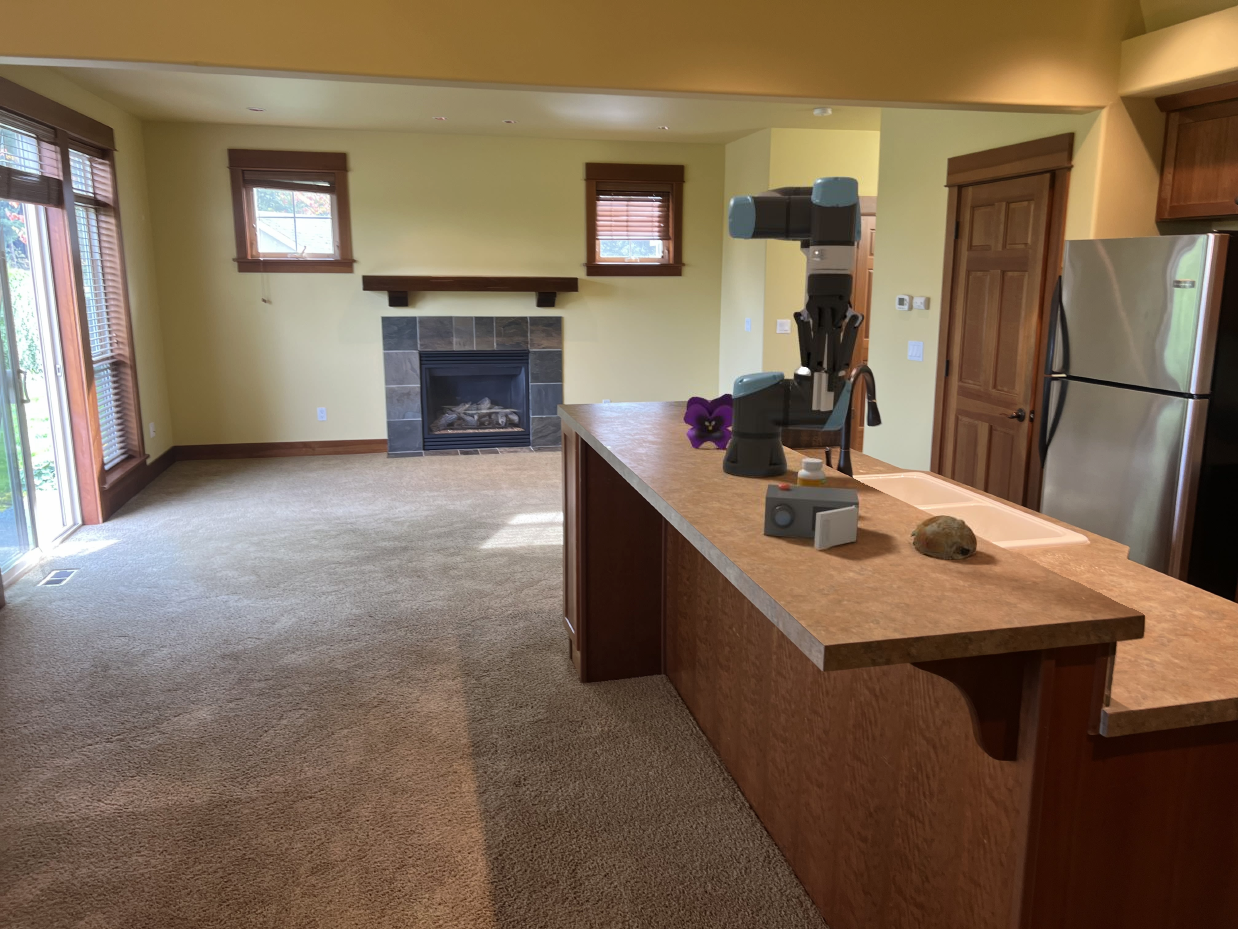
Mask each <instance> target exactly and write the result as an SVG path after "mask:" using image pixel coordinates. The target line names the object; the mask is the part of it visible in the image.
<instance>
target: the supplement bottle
mask: <svg viewBox="0 0 1238 929" xmlns="http://www.w3.org/2000/svg"><path fill="white" fill-rule="evenodd" d="M823 462H824V461H823V459H818V458H812V457H811V458H810V457H809V458H803V459H802V461H801V466H802V469H800V470H799V471H798V473H797V485H796V486H805V487H822V488H826V478H827V477H826V473H825V471H823V470H822V469H823V467H824V466H823V465H824V463H823Z"/></svg>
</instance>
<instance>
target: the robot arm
mask: <svg viewBox="0 0 1238 929" xmlns="http://www.w3.org/2000/svg"><path fill="white" fill-rule="evenodd" d="M860 202H861V201H860V196H859V182H858V180H857V179H856V178H854V177H849V176H825V177H819V178H817V179H816V180H814V182H813V185H812V186H782V187H778V188H773V189H772V188H771V189H769V190H766V191H761V192H759V193H757V194H755V195H742V196H741V195H739V196H733V197H732V198H731V199H730V200H729V205H728V215H727V216H728V220H727V221H728V226H727V227H728V228H727V229H728V234H729V236H730V238H732V239H742V240H766V239H767V240H768V239H769V240H771V239H772V240H777V241H787V242H800V245H799V246H800V247H799V248H800V249H799V250H800V252H802V253H803V255H804V256H805V257H806V261H805V262H806V263H805V264H806V265H805V266H806V267H805V283H804V298H803V299H804V302H803V304H804V305H803V309H801V310H800V311H795V312H794V313H793V319H794V321H795V324H796V327H797V336H798V345H799V355H800V364H799V365H798V366H797V368H795V369H794V370H793V378H786V377H785V376H786V375H785V373H784V371H783V372H782V371H765V372H756V373H755V372H754V373H750V374H749V373H748V374H744V375H743V374H742V375H740V376H738V377H737V378H736V379H734V382H733V388H732V390H733V391H732V398H733V409H732V426H731V439H730V440H729V442H728V444H727V447H726V448H727V449H726V451H725V454H724V456H723V459H722V471H723V472H725V473H727V474H729V475H730V474H731V475H735V476H738V477H739V476H741V477H750V478H770V477H771V478H772V477H779V476H783V475H785V474H787V472H788V461H787V458H786V454H785V451H784V447H783V442H782V429H785V430H786V429H787V430H788V429H789V430H791V429H792V430H814V431H815V430H816V431H821V432H823V431H837V430H840V429H841V428H843V426H844V424H845V421H846V417H847V413H848V409H849V404H850V398H851V390H852V382H851V380H849V379H846V371H847V370H849V369H850V367H851V362H852V358H853V354H854V350H855V346H856V342H857V337H858V333H859V329H860V327H861V325H862V323H864V320H865V315H864V314H863V313H858V312H856V311H855V310H854V309H853V303H851V302H852V301H851V297H852V293H853V286H854V285H853V282H854V276H853V274H851V272H850V271H854V269H855V254H856V253H855V250H856V249H855V248H856V243H858V242H860V241H861V240H862V213H861V204H860ZM845 322H846V324H845V326H844V323H845ZM842 333H843V334H842Z"/></svg>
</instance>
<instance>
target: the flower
mask: <svg viewBox="0 0 1238 929" xmlns="http://www.w3.org/2000/svg"><path fill="white" fill-rule="evenodd" d="M732 395H733V393H732V394H731V393H724V394H721V395H720V396H719V397H716V398H713V399H712V400H711V401H709V400H708V399H706V398H705V397H702V396H701V397H700V396H692V397H690V398H689V399H688V400H687V403H686V411H685V413H684V416H683V422H684V423H685V424H686V425H688V426H691V427H690V428H688V430H687V432H686V437H687V438H688V439H689V442H690V444H691V447H692V448H693V449H699V448H700V447H701V446H702V445H703V444H705V443H708V442H711V443H713V444H714V445H715V446H716V447H717V449H719V450H725V449H726V448H727V447H728V445H729V443H730V440H731V431H732V429H729V428H732V409H733V398H732Z"/></svg>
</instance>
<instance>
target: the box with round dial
mask: <svg viewBox="0 0 1238 929" xmlns="http://www.w3.org/2000/svg"><path fill="white" fill-rule="evenodd" d="M853 505H859V506H860V501H859V497H858V492H857V489H853V488H852V489H851V488H839V487H838V488H837V487H835V488H834V487H825V488H822V487H805V486H797V485H790V484H789V483H779V484H768V485H767V489H766V494H765V505H764V523H763V524H764V527H763V535H764V536H772V537H773V536H775V537H790V538H791V537H792V538H801V539H803V538H804V539H815V527H816V513H819V512H825V511H830V510H836V509H841V508H847V507H852V506H853Z"/></svg>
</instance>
